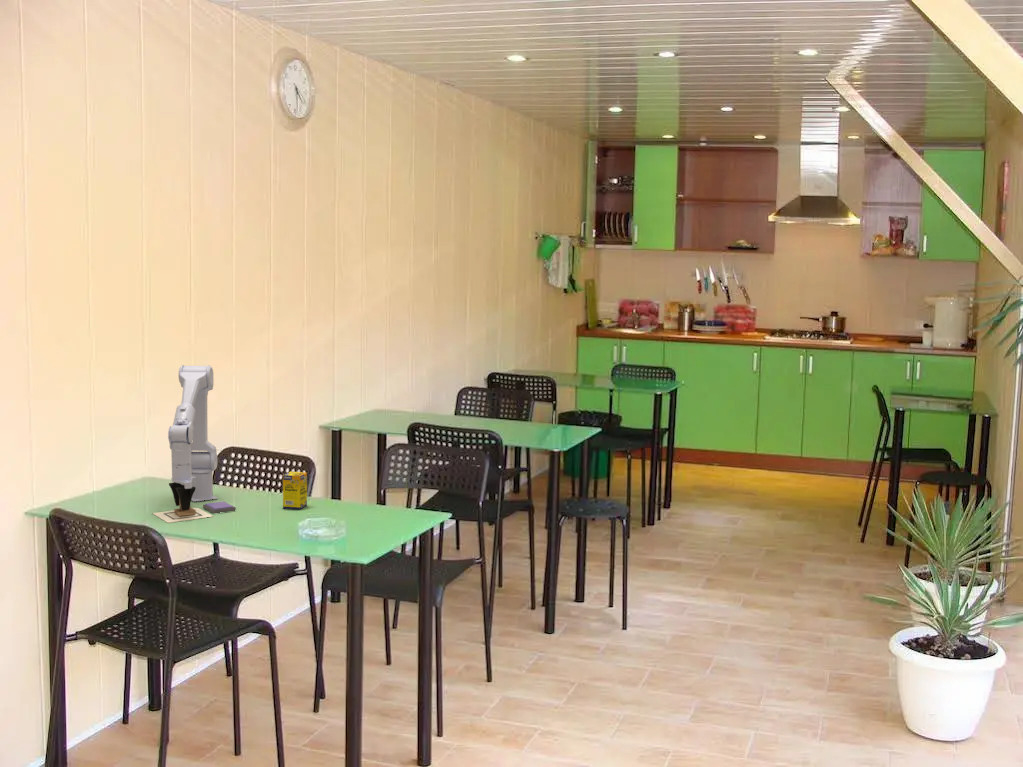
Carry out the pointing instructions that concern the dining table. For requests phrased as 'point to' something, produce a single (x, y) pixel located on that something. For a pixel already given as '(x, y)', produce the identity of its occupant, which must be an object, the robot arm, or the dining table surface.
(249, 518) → the dining table surface
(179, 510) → the stamp
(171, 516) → the paper sheet
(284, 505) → the supplement box
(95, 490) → the dining table surface
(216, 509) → the ink pad
